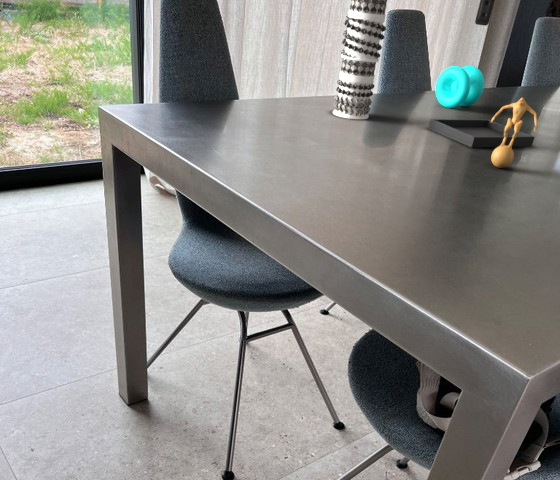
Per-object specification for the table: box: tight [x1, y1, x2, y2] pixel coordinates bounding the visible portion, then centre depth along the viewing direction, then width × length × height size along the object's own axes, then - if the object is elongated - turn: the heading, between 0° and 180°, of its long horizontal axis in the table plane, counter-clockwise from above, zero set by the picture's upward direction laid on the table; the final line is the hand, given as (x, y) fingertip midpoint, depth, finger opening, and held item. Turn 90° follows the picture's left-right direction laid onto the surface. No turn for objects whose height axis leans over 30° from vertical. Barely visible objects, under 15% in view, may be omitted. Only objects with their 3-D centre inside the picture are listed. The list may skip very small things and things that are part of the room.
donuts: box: [434, 65, 485, 109], centre depth 153 cm, size 10×10×10 cm
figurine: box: [490, 97, 538, 169], centre depth 105 cm, size 8×6×12 cm
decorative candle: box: [332, 0, 388, 120], centre depth 125 cm, size 9×9×25 cm
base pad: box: [427, 118, 536, 149], centre depth 126 cm, size 17×15×2 cm
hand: (481, 23), depth 96 cm, fingers open, 8 cm apart
